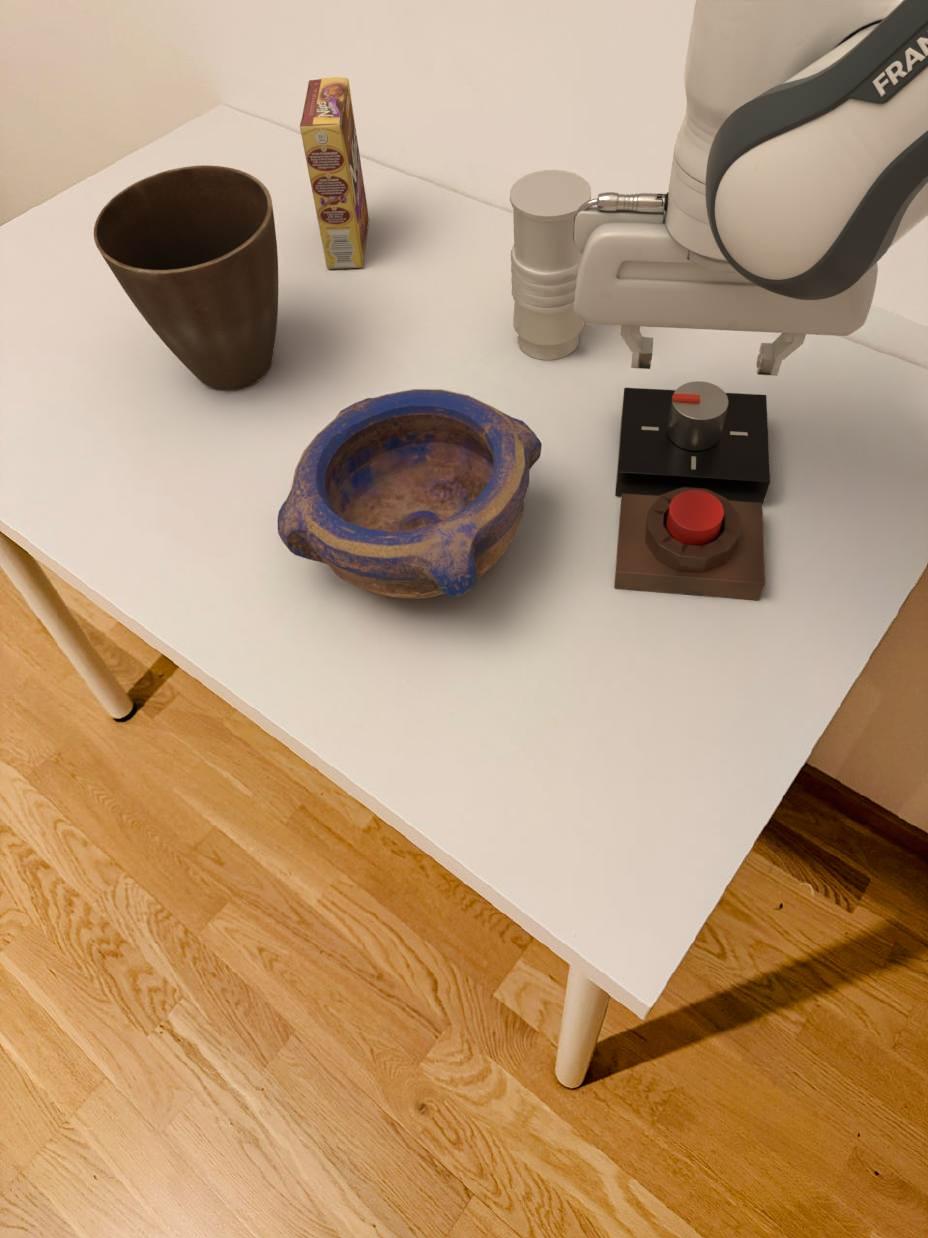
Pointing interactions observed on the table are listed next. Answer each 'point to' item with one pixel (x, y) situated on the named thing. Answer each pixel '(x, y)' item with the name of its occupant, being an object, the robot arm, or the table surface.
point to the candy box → (335, 171)
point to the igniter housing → (690, 550)
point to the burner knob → (697, 415)
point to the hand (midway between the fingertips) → (703, 366)
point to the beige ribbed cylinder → (546, 262)
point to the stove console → (665, 466)
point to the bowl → (411, 492)
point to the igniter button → (695, 517)
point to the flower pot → (199, 267)
